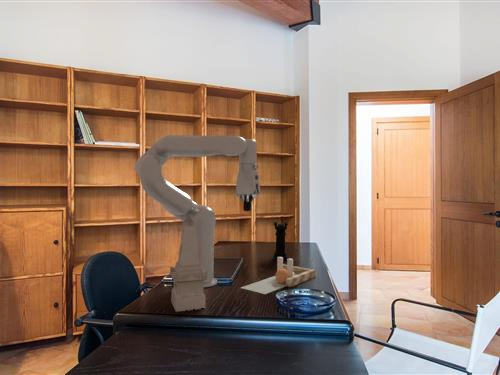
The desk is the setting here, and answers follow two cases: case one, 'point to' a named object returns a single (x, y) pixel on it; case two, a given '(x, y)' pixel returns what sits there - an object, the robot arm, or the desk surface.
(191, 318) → the desk surface
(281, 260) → the pin
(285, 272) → the ball
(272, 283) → the lane
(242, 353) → the desk surface
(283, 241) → the chess piece
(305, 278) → the backstop
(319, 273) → the desk surface
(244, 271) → the desk surface
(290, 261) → the pin
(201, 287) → the miniature monument
